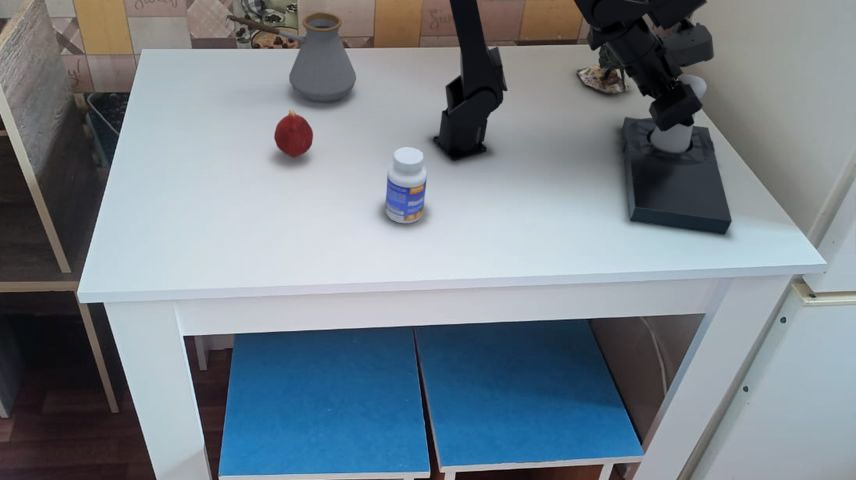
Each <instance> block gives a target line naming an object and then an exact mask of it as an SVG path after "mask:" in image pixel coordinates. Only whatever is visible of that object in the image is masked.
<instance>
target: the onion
mask: <svg viewBox="0 0 856 480" xmlns="http://www.w3.org/2000/svg"><path fill="white" fill-rule="evenodd" d="M273 139H274V141H275V144H276V147H277V148H278V149H279V151H281V152H282V153H283V154H284V155H286V156H288V157H291V158H297V157H300V156H302V155H304V154H306V153H307V152H308V151H309V150H310V149H311V147H312V145H313V140H314V131H313V128H312V127H311V125H310V124H309V122H308V120H307V119H306V118H304V117H303V116H302V115H299V114H297V113H296V112H295V111H294V110H293V109H289V110H288V114H287V115H285V116H284V117H283V118H281V119H280V120H279V121H278V123H277V124H276V127H275V130H274V135H273Z"/></svg>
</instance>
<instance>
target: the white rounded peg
mask: <svg viewBox="0 0 856 480" xmlns="http://www.w3.org/2000/svg"><path fill="white" fill-rule="evenodd" d="M678 80H681V81H682V82H683V83H684V84H690V85H691V87H692V88H693V90H694V91H695V93H696V94H697V96H698V98H699V99H700V100H701V99H702V98H703V96H704V95H705V94H706V92H707V83H706V82H705V80H704V79H703V78H702V77H700V76H697V75H692V74H685V75H681V76H679V77H678V78H677V81H678ZM692 116H693V119H694V120H695V117H696V113H695V114H693V115H692ZM693 126H694V124H693V125H691V126H689V127H687V126H683V125H681V124H677V125H675V126H674V127H672V128H670V129H669V130H667V131H660V129H659V128H658V127H656V128H655V130H654V132H653V133H652V135H651V137H650V141H651V142H650V144H651V145H652V146H654V147H655V148H657V149H658V150H661V151H664V152H667V153H674V154H680V153H686V152H685V151H686V150H687V148H688V147H689V144H690V139H691V134H692V128H693Z"/></svg>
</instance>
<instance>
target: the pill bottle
mask: <svg viewBox="0 0 856 480" xmlns="http://www.w3.org/2000/svg"><path fill="white" fill-rule="evenodd" d="M424 157H425V156H424V153H423V152H422V150H419V149H418V148H415V147H412V146H406V147H400V148H398V149H396V151H394V154H393V159H392V164H390V166H389V167H388V170H387V175H386V194H385V205H384V206H385V208H384V209H385V213H386V216H387V217H388V218H389V219H390V220H392V221H394V222H396V223H399V224H412V223H415V222H416V221H418V220H420V219H421V218H422V216H423V214H424V208H425V200H426V199H425V198H426V189H427V180H428V172H427V171H428V170H427V169H426V167H425V166H424V163H425V162H424V159H425V158H424Z"/></svg>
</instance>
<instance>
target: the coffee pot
mask: <svg viewBox="0 0 856 480" xmlns="http://www.w3.org/2000/svg"><path fill="white" fill-rule="evenodd" d="M230 21H231V22H237V23H239V24H238V25H240V26H242V25H245V26H246V27H249V28H251V29H253V30H255V31H260V32H263V33H268V34H272V35H276V36H280V37H283V38H287V39H290V40H292V41H295V42H298V43H301V45H300V48H299V50H298V52H297V55H296V58H295V60H294V63H293V65H292V67H291V70H290V72H289V75H288V76H289V77H288V78H289V79H288V81H289V83H290V85H291V87H292V88H293V90H294V91H295V92H296V93H297V94H298V95H300V96H301V97H302V98H303V99H304V100H306V101H308V102H311V103H315V104H331V103H335V102H338V101H339V100H341V99H343V97H345V96H346V95H347V94H349V93H350V92H351V91H352V90H353V88H354V86H355V84H356V81H357V75H356V70H355V69H354V67H353V65H352V62H351V60H350V58H349V55H348V52H347V50H346V48H345V46H344V44H343V42H342V39H341V37H340V34H339V30H340V28H341V27H342V25H343V20H342V19H341V18H340V16H338V15H336V14H334V13H330V12H323V11H315V12H313V13H310V14H308V15H306V16H305V17H303V19H302V22H301V23H302V26H303V27H304V28H305V32H306V33H305V35H304V36H302V35H298V34H294V33H291V32H288V31H284V30H280V29H279V28H276V27H273V26H271V25H268V24H265V23H262V22H260V21H257V20H251V19H246V18H245V17H243V16H240V17H238V16H236V15H233V14H227V15H226V17H225V21H224V28H228V26H229V24H230Z"/></svg>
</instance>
